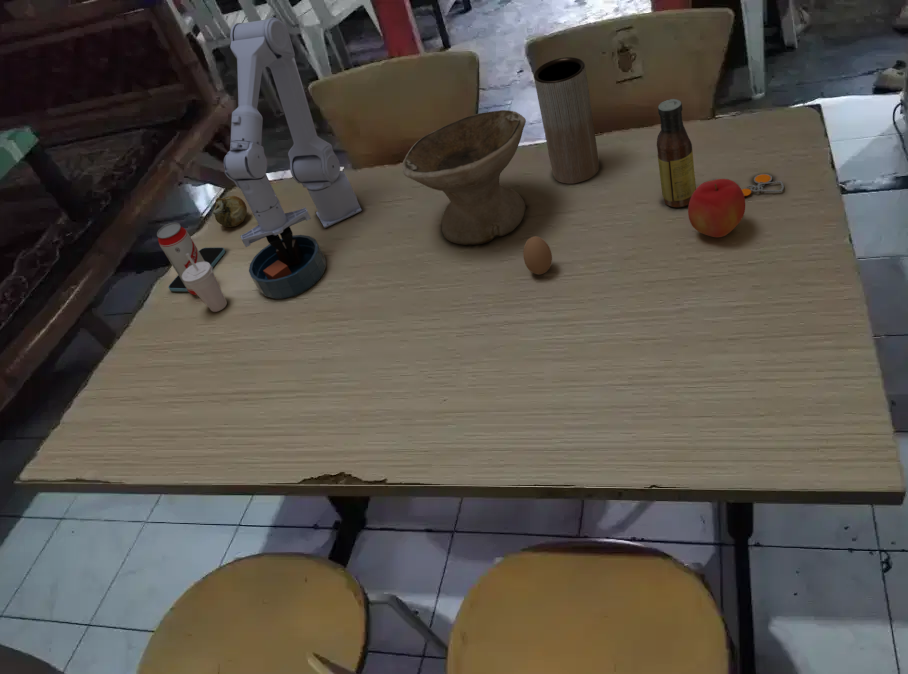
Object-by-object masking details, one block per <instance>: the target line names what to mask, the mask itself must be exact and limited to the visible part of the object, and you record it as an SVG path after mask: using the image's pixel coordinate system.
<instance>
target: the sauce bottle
mask: <svg viewBox="0 0 908 674" xmlns="http://www.w3.org/2000/svg"><path fill="white" fill-rule="evenodd" d="M657 111H658V115H659V118H660V119H659V120H660V131H659V133H658V135H657V138H656V149H657V163H658V172H659V178H660V186H661V196H662V198H663V201H664V204H665V205H666V206H668V207H672V208H682V207H687V206H689V202H690V199H691V196H692V194H693V193H694V191H695V190H696V188H697V187H696V186H697V184H696V173H695V162H694V154H693V143H692V141H691V139H690V137H689V135H688V132H687V130H686V128H685V125H684V121H683V113H682V112H683V103H682V101H680V100H679V99H676V98H670V99H667V100H664V101H662V102H660V103H659V104H658V106H657Z"/></svg>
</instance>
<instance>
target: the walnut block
mask: <svg viewBox="0 0 908 674" xmlns="http://www.w3.org/2000/svg"><path fill="white" fill-rule="evenodd" d="M282 243H283V245H284V247H285V248H286V246H285V244H284V242H282ZM292 248H293V255H294V258H295V261H293V262H291V263H289V261H288V260H287V258H286V257H285V256H284V255H283V254H282V253H281V252H280V251H279V250H276V253H277V255H278V258H279V260H280V261H281V262H282V263H284V264H286V265H287V266H291V265H295V264H299V263H300V262H301V258H302V252H301V250H300V248H299V245H298V243H297V241H296V239H294V240H292ZM286 250H287V249H286ZM287 252H288V251H287Z"/></svg>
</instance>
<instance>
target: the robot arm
mask: <svg viewBox="0 0 908 674" xmlns="http://www.w3.org/2000/svg"><path fill="white" fill-rule="evenodd" d="M229 37H230V45H229V47H230V48H229V49H230V50H231V52H232V54H233V56H234V57H235V58H236V68H237V69H236V70H237V72H236V73H237V104H238V105H237V108H235V109H234V110H233V111H232V112H231V123H230V125H231V126H230V144H229V145H230V146H229V151H228V152H227V153H226V155H225V156H224V158H223V167H224V174H225V176H226V178H228V179H229V180H231V181H232V182H233V183H234V184H235V186H236V188H238V189H239V190H240V191H241V192H242V194H243V196H244V199H245V200H246V203H247V204H248V206H249V208H250V210H251V212H252V214H253V216H254V218H255V221H256V223H257V224H258V225H256V226H255V227H253V228H251V229H250V230H248V231H247V232H245V233H243V234H241V235H240V240H241V241H242V243H243V245H244V247H245V248H247V247H250V246H251V244H253V243H255V242H258V241H260V240H262V239H264V238H265V239H266V240H267V242H268V244H271V245H272V246H273V247H275V248H276V249H277V250H279V251H280V252H281V253H282V254H283V255H284V256H285V257H286V258H287V260H288V261H289V263H291V262H293V261H295V258H294V255H293V248H292V238H293V235H294V234H293V231H292V229H291V227H292V226H295V225H296V224H298V223H299V224H300V223H302V222H304V221H310V220H311V219H312V218H311V215H310V213H309V210H308V209H307V207H302V208H299V209H297V210H293V211H288V212H286V213H285V211H284V209H283V206H282V204H281V203H280V200H279V198H278V196H277V193H276V192H275V190H274V188H273V186H272V184H271V182H270V179H269V177H268V175H267V170H268V159H267V156H266V153H265V148H264V146H262V140H263V120H264V118H263V116H262V114H261V113H260V111H259V110H258V105H259V98H260V89H261V82H262V75H263V70H264V69H265V68H266V67H267V68H269V69H270V72H271V74H272V77H273V81H274V84H275V88H276V91H277V94H278V96H279V101H280V104H281V107H282V111H283V113H284V116H285V119H286V123H287V126H288V129H289V132H290V136H291V139H292V142H293V144H292V146H291V147H290V149H289V151H288V152H287V155H288V159H289V170H290V174H291V177H292V178H293V180H294V181H295V182H296V183H298V184H301V185H302V187H303V188H305V189H307V192H308V194H309V196H310V198H311V200H312V202H313V204H314V206H315V208H316V210H317V211H316V212H315V214H316V216H317V218H318V219H319V221H320V222H321V224H322V226H323V228H324V229H326V228H329V227H331V226H333V225H336V224H337V223H339V222H341V221H344V220H345V219H346V220H347V219H348V218H350V217H352V216H354V215H356V214H359V213H360V212H362V211H363V210H362V207H361V205H360V203H359V201H358V197H357V194H356V193H355V191H354V189H353V187H352V185H351V182H350V180H349V178H348V176H347V175H346V173H345V172H344V171H343V170H341V164H340V163H341V162H340V161H339V158H338V156H337V155H336V153H335V151H334V148H333V145H332V144H331V143H330V142H328V141H326V140H325V139H322V138H321V137H320V136H318V133H317V130H316V126H315V123H314V120H313V116H312V112H311V110H310V107H309V103H308V98H307V95H306V92H305V89H304V86H303V82H302V79H301V75H300V72H299V68H298V65H297V61H296V58H295V57H296V53H295V50H294V46H293V43H292V39H291V36H290V32H289V29H288V26H287V24H286V23H284V22H283V21H281V20H280V19H279V18H278V17H270V18H267V19H261V20H254V21H249V22H236V23H234V24H233V25H232V26H231V28H230V35H229ZM281 239H283V241H284V244H285V246H286V248H285V247H284V245H283V243H282V241H281ZM286 249H287V250H286ZM287 251H288V252H287Z"/></svg>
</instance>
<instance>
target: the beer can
mask: <svg viewBox="0 0 908 674" xmlns="http://www.w3.org/2000/svg"><path fill="white" fill-rule="evenodd" d="M156 236H157V241H158V245H159V248H161V250H162V252H163V253H164V255H165V256H166V258H167V259H168V261H169V262H170V264H171V266H172V268H173V269H174V271H175V272H176V274H177V276H178V275H179V277H180V279H181V280H182V282H183V283H184V281H183V279H182V274H183V272H184V271H185V270H186V269H187V268H188V267H190V266H191V265H192V263H191V262H190V260H189V259H188V257H187V256H186V254H187V253H188V254H189V255H190V257H191V258H192V260H193V261H194V263H198V262H205V261H204V259H203V258H202V256H201V254H200V252H199V249H198V248H197V245H196V244H195V242H194V241H193V239H192V237H191V235H190V234H189V232H188V231H187V229H186V228H185V227H183V226H181V224H180V223H178V222H169V223H167V224H165V225H163V226H161V227H160V228H159V229H158V230H157V232H156ZM184 285H185V287H186V288H187V290H188V291H187V292H188V293H189V294H190V295H193V296H197V297H199V296H198V295H197V294H196V293H195V292H194V291H193V290H192V288H191V287H190V286H189V285H187V284H185V283H184Z"/></svg>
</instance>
